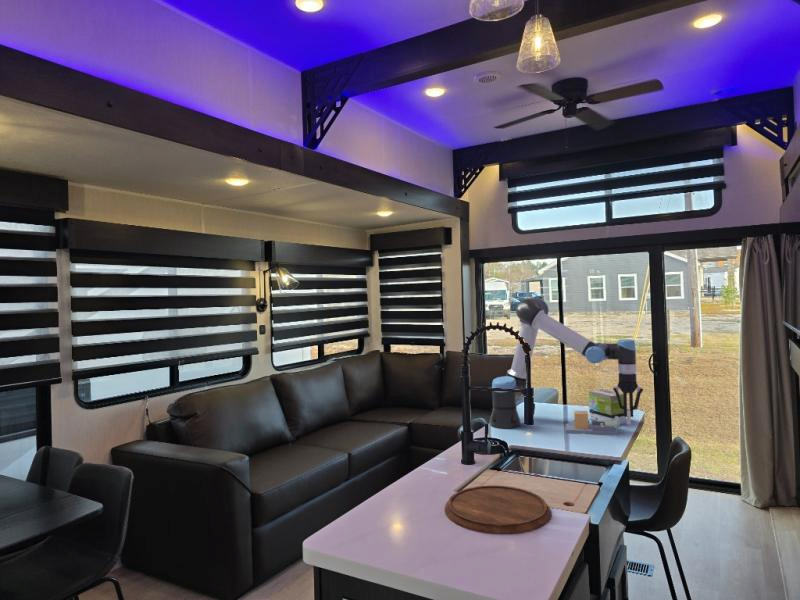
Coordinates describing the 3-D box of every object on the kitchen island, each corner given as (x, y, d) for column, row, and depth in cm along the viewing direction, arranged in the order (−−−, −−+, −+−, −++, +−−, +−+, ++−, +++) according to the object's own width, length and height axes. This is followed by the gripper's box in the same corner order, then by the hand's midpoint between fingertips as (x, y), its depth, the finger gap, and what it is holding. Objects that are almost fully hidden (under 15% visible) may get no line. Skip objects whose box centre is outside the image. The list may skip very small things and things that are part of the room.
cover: (605, 426, 239) (605, 420, 239) (604, 422, 247) (604, 415, 247) (619, 427, 237) (619, 420, 237) (617, 422, 245) (617, 416, 245)
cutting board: (478, 484, 182) (478, 477, 182) (568, 506, 162) (567, 497, 162) (423, 517, 157) (423, 508, 157) (521, 546, 137) (521, 537, 137)
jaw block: (574, 428, 244) (574, 413, 244) (574, 425, 250) (574, 410, 250) (588, 428, 243) (587, 413, 243) (587, 425, 248) (587, 411, 248)
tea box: (588, 419, 266) (587, 390, 266) (603, 417, 270) (602, 388, 270) (612, 425, 253) (611, 395, 252) (627, 423, 257) (626, 393, 257)
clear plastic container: (565, 432, 243) (565, 421, 243) (565, 426, 254) (565, 415, 254) (616, 435, 236) (616, 423, 236) (614, 428, 248) (614, 416, 248)
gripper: (612, 373, 238) (614, 425, 238) (643, 374, 234) (645, 426, 234) (611, 371, 245) (612, 421, 246) (641, 371, 241) (643, 422, 242)
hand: (628, 423), depth 240 cm, fingers closed
